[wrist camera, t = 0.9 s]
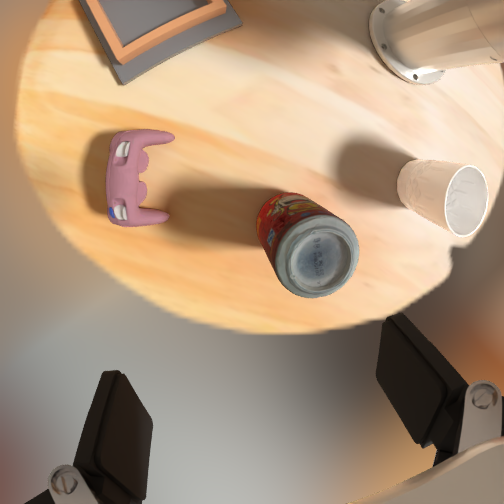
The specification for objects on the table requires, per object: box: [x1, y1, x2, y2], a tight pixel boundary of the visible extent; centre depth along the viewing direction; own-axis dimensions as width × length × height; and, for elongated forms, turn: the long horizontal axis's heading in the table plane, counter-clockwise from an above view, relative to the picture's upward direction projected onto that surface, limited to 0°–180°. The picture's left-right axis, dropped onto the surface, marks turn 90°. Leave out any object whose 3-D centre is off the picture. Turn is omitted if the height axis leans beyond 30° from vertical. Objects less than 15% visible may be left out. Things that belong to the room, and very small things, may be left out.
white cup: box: [397, 159, 488, 237], centre depth 29 cm, size 8×8×10 cm
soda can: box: [256, 193, 359, 298], centre depth 28 cm, size 7×7×12 cm
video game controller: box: [106, 129, 175, 227], centre depth 27 cm, size 10×5×7 cm, turn 173°
